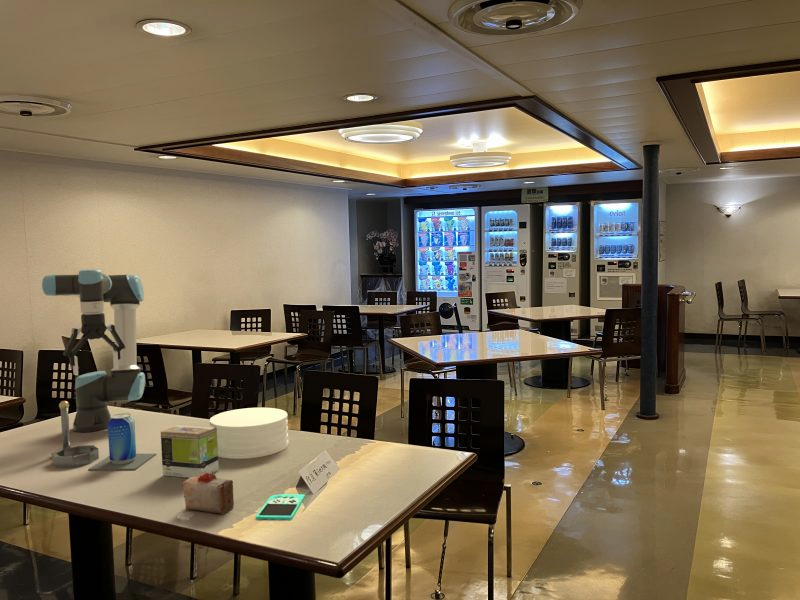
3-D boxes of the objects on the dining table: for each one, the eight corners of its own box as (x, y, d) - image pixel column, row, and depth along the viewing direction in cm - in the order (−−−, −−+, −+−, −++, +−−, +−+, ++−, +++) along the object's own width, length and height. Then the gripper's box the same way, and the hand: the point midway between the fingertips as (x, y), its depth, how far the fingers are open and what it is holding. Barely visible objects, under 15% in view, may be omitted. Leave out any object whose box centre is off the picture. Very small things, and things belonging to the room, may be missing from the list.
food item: (179, 511, 169) (177, 476, 169) (198, 500, 177) (196, 466, 176) (220, 516, 165) (219, 481, 164) (238, 505, 172) (236, 471, 172)
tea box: (219, 470, 202) (217, 425, 202) (200, 480, 193) (198, 434, 192) (182, 465, 207) (180, 422, 206) (161, 476, 198) (159, 430, 197)
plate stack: (194, 454, 220) (192, 423, 219) (242, 433, 246) (241, 405, 245) (259, 462, 209) (258, 429, 209) (302, 439, 235) (301, 410, 235)
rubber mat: (112, 455, 221) (112, 453, 221) (156, 454, 220) (156, 453, 220) (88, 470, 205) (88, 469, 205) (135, 470, 204) (135, 468, 204)
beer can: (141, 457, 216) (138, 412, 215) (128, 465, 208) (125, 418, 207) (118, 457, 217) (116, 412, 216) (104, 464, 208) (102, 418, 207)
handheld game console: (306, 498, 178) (306, 493, 178) (292, 521, 162) (292, 516, 162) (272, 497, 178) (272, 493, 178) (255, 521, 163) (255, 516, 162)
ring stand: (63, 451, 227) (60, 398, 226) (111, 450, 226) (108, 398, 225) (31, 467, 209) (28, 411, 208) (84, 467, 208) (80, 410, 207)
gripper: (57, 317, 207) (61, 379, 209) (132, 310, 224) (135, 367, 226) (50, 315, 212) (54, 375, 214) (124, 309, 230) (127, 365, 232)
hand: (96, 371), depth 220 cm, fingers open, 13 cm apart
